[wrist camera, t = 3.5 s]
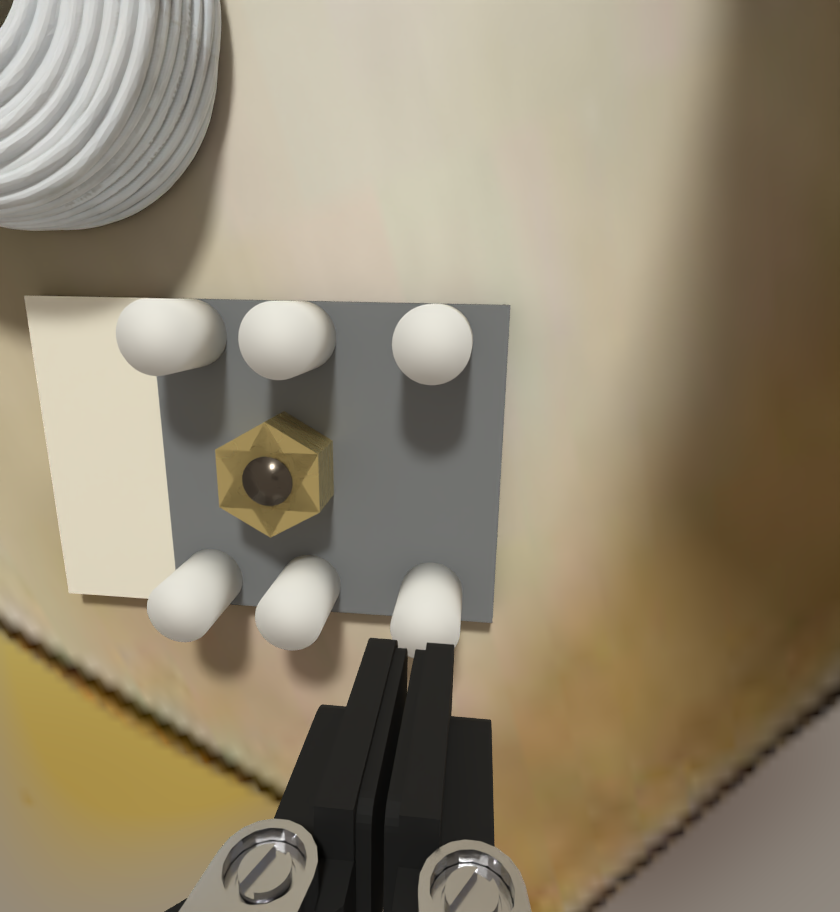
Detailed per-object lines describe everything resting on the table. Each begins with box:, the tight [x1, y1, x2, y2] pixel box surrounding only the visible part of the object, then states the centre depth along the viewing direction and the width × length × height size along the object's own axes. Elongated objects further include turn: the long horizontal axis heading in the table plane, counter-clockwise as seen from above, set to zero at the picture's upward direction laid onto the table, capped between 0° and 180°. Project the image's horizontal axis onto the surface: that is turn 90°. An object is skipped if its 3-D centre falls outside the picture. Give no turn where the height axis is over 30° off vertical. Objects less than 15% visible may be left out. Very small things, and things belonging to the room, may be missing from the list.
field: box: [24, 296, 510, 658], centre depth 26 cm, size 22×15×4 cm
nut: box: [215, 411, 334, 538], centre depth 26 cm, size 4×5×3 cm
